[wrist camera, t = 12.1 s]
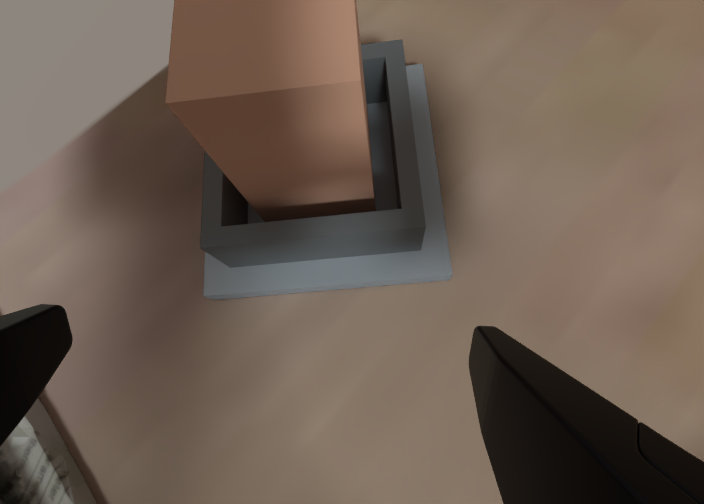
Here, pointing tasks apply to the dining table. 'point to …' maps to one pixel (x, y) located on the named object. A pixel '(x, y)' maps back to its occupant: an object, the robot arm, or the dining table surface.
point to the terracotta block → (276, 101)
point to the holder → (348, 229)
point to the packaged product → (39, 465)
